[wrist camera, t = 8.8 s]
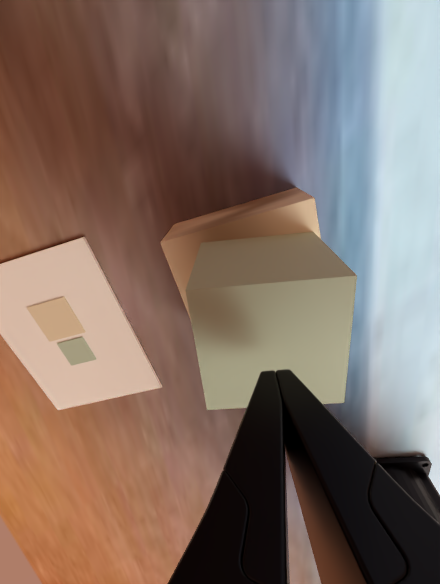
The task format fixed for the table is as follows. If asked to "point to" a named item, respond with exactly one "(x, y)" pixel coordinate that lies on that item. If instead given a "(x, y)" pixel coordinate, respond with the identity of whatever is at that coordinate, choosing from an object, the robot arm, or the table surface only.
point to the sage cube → (270, 315)
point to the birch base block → (237, 228)
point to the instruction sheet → (71, 327)
